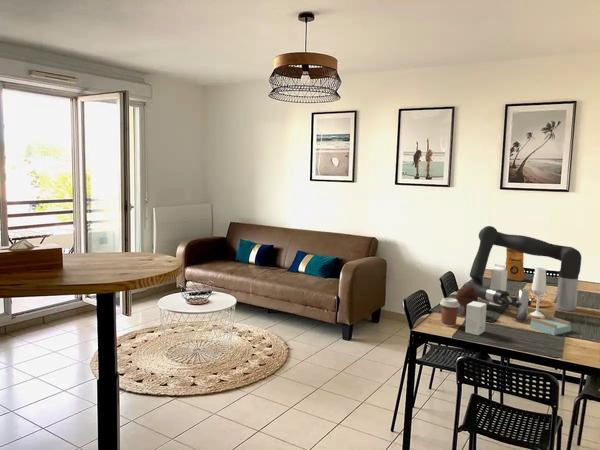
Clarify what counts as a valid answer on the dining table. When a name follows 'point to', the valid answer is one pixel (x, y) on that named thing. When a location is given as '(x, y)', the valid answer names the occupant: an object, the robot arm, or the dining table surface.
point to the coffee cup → (449, 311)
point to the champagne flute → (539, 287)
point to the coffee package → (514, 265)
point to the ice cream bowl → (466, 297)
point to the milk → (498, 279)
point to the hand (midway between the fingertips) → (525, 304)
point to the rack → (551, 325)
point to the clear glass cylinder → (522, 305)
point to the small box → (475, 318)
